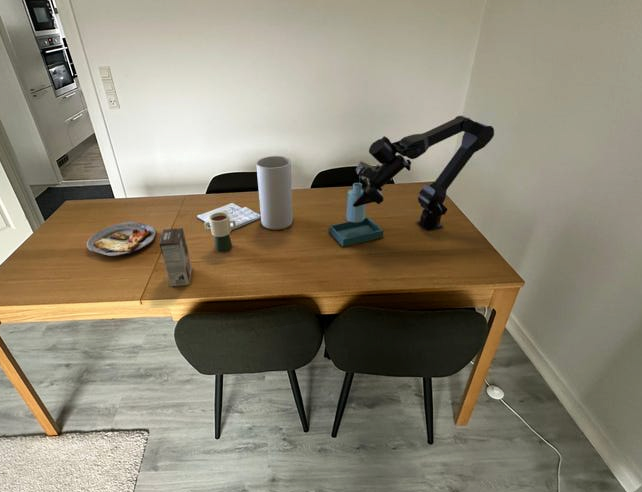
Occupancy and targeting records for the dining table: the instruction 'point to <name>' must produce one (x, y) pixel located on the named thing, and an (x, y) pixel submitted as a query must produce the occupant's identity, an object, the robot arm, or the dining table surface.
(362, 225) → the teal open tray
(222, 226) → the character mug
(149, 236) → the food plate
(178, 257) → the coffee box
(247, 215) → the white printed square slab
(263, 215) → the cylinder vase
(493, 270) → the dining table surface
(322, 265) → the dining table surface
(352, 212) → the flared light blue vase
